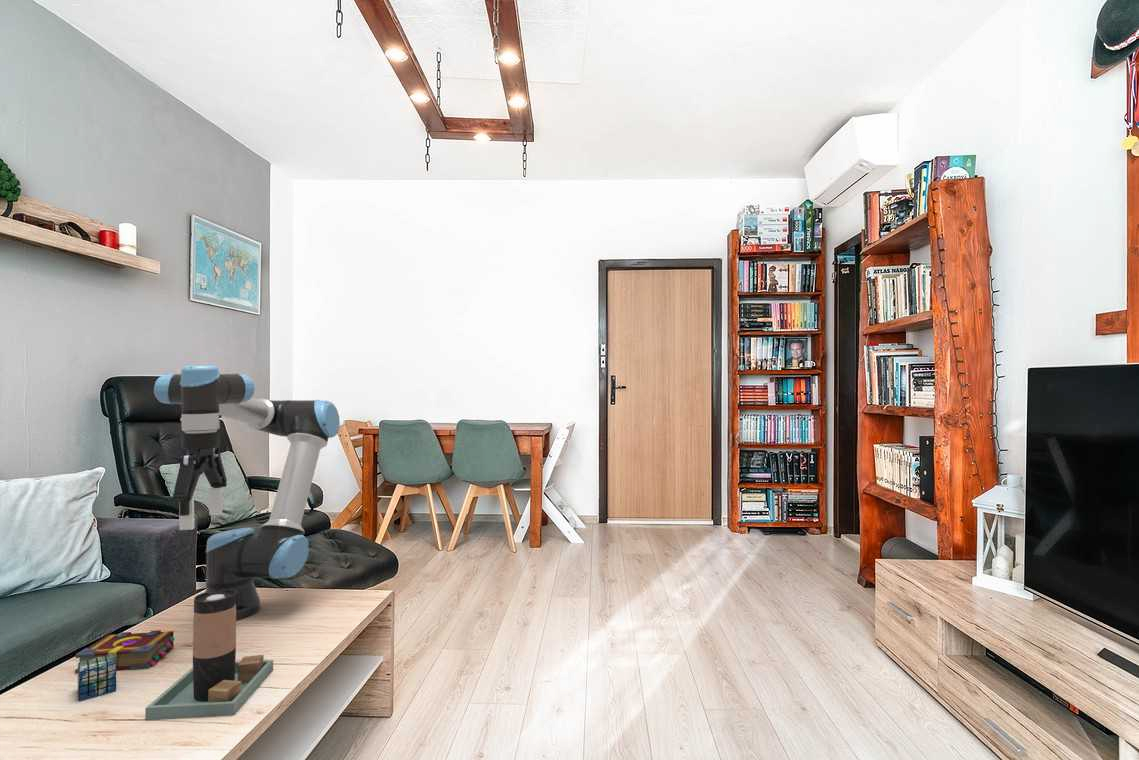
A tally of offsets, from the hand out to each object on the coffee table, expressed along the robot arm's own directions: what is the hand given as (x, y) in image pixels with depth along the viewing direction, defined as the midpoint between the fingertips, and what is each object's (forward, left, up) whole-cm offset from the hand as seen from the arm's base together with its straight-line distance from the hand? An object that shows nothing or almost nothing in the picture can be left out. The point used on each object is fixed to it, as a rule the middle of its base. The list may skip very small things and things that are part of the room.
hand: (202, 521), depth 135 cm
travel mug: (+17, +11, -32) cm, 38 cm away
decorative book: (-2, -17, -33) cm, 37 cm away
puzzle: (+12, -15, -33) cm, 38 cm away
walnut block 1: (+23, +16, -32) cm, 42 cm away
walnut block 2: (+12, +16, -32) cm, 37 cm away
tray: (+17, +11, -32) cm, 38 cm away
